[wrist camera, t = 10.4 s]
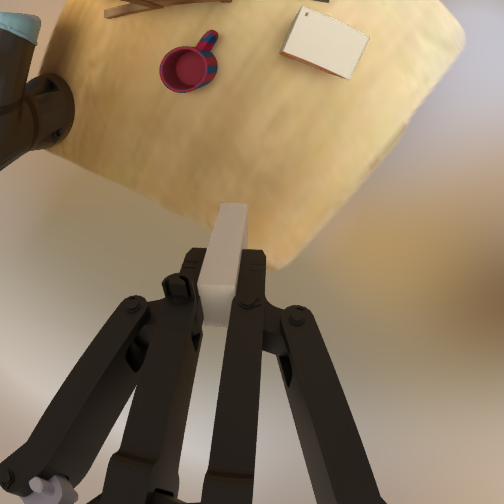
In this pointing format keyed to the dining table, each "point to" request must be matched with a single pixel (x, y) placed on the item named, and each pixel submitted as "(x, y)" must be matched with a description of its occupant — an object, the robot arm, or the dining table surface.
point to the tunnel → (147, 6)
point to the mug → (190, 65)
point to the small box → (324, 43)
